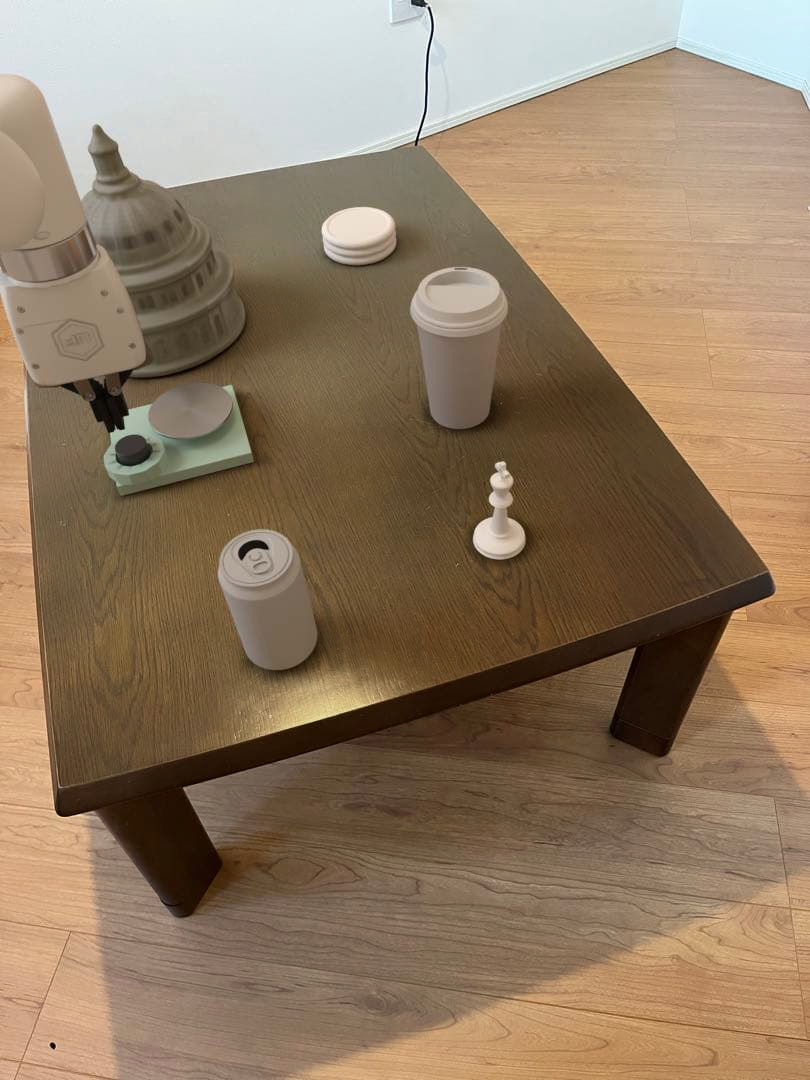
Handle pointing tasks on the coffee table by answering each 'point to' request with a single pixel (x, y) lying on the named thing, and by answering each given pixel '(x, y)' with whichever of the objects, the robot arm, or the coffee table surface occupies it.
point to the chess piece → (499, 521)
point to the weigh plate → (190, 410)
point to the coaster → (359, 236)
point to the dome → (162, 264)
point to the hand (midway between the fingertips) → (115, 422)
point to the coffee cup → (459, 342)
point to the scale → (177, 452)
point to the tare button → (132, 450)
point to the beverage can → (268, 598)
